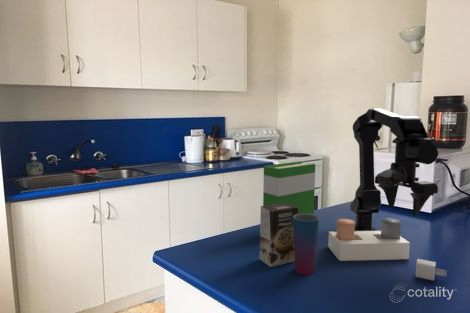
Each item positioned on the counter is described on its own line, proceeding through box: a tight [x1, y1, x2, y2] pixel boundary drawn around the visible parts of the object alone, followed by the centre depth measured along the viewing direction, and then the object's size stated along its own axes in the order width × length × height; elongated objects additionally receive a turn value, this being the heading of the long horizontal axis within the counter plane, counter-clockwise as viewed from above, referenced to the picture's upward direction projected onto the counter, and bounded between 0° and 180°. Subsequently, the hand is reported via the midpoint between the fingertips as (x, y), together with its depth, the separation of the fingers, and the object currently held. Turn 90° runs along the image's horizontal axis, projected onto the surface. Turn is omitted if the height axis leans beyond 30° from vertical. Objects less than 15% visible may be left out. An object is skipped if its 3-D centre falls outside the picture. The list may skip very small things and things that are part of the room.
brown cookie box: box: [259, 203, 298, 268], centre depth 106 cm, size 9×6×16 cm
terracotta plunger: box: [335, 218, 356, 240], centre depth 112 cm, size 5×5×6 cm
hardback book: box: [262, 160, 316, 215], centre depth 130 cm, size 18×7×24 cm, turn 127°
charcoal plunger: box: [380, 217, 402, 239], centre depth 113 cm, size 5×5×6 cm
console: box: [327, 230, 411, 262], centre depth 113 cm, size 11×21×5 cm, turn 93°
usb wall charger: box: [415, 258, 447, 282], centre depth 97 cm, size 4×7×4 cm, turn 60°
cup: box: [293, 214, 320, 276], centre depth 100 cm, size 7×7×15 cm
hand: (402, 211), depth 110 cm, fingers open, 9 cm apart
